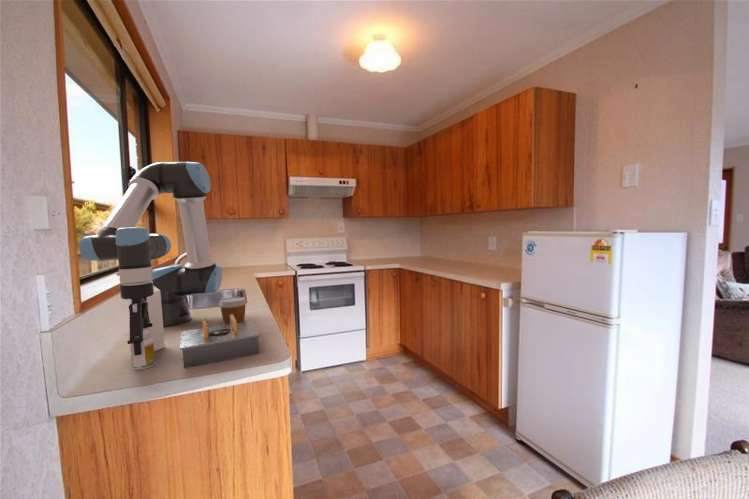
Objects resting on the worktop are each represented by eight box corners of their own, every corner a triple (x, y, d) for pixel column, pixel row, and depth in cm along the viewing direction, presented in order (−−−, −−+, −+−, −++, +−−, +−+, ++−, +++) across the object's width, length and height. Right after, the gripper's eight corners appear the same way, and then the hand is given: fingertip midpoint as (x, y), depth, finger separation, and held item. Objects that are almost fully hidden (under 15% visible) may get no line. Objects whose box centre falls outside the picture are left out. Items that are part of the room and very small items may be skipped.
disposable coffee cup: (226, 328, 130) (223, 297, 129) (251, 326, 131) (249, 295, 130) (216, 336, 121) (214, 303, 120) (244, 334, 121) (242, 301, 120)
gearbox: (183, 349, 108) (180, 319, 107) (252, 337, 118) (250, 309, 117) (181, 369, 93) (178, 333, 92) (261, 353, 103) (259, 321, 102)
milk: (133, 352, 107) (127, 283, 105) (151, 345, 113) (145, 280, 111) (148, 354, 105) (142, 284, 104) (165, 347, 111) (159, 280, 109)
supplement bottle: (158, 361, 99) (155, 329, 98) (150, 369, 94) (147, 334, 93) (137, 363, 98) (134, 330, 97) (128, 371, 93) (125, 336, 92)
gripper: (127, 278, 103) (133, 346, 105) (110, 291, 81) (118, 377, 83) (156, 276, 107) (162, 342, 108) (147, 288, 85) (154, 370, 86)
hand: (143, 357), depth 96 cm, fingers open, 13 cm apart
